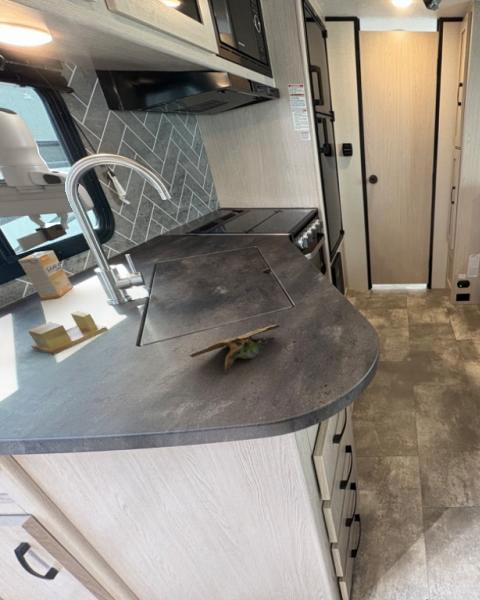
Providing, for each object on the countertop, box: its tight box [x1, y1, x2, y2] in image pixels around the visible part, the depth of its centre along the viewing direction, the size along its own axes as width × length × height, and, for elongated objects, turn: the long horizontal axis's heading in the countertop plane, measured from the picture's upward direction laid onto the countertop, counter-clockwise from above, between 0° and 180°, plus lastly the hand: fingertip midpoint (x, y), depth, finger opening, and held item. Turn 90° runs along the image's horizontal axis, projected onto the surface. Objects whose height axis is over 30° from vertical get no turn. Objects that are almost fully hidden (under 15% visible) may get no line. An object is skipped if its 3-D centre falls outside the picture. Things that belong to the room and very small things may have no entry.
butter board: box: [27, 321, 108, 356], centre depth 75 cm, size 8×11×5 cm
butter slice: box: [70, 310, 97, 331], centre depth 78 cm, size 5×2×4 cm, turn 70°
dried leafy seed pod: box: [188, 324, 280, 375], centre depth 67 cm, size 18×14×8 cm
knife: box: [16, 221, 68, 252], centre depth 82 cm, size 18×2×3 cm, turn 23°
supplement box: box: [17, 250, 73, 300], centre depth 97 cm, size 8×5×13 cm, turn 22°
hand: (56, 230), depth 88 cm, fingers closed on knife, 2 cm apart
